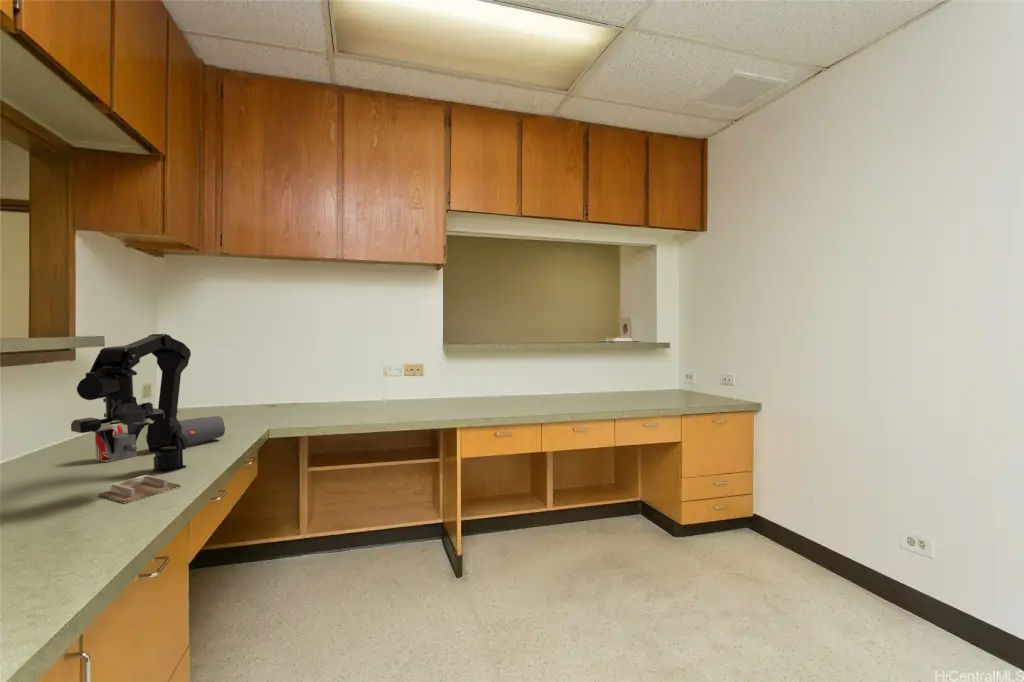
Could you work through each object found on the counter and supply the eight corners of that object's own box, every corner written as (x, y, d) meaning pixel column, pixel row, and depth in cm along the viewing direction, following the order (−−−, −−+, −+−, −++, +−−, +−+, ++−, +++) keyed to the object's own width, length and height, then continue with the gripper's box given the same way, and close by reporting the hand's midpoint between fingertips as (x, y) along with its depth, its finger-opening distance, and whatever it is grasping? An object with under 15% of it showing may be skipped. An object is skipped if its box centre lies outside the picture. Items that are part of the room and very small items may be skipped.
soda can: (95, 464, 151) (94, 428, 151) (96, 459, 157) (95, 424, 156) (123, 460, 156) (122, 425, 155) (123, 455, 161) (122, 421, 161)
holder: (153, 480, 135) (152, 471, 135) (180, 487, 129) (179, 477, 129) (98, 495, 123) (97, 486, 123) (125, 503, 118) (125, 493, 117)
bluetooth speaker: (156, 455, 162) (155, 426, 162) (146, 451, 168) (145, 423, 167) (226, 441, 181) (225, 416, 180) (215, 438, 186) (214, 413, 186)
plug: (125, 453, 128) (124, 432, 128) (142, 457, 124) (141, 435, 123) (107, 457, 124) (106, 435, 124) (124, 462, 120) (123, 439, 120)
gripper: (90, 401, 112) (92, 465, 113) (174, 391, 129) (176, 446, 129) (68, 398, 117) (71, 459, 118) (152, 388, 134) (154, 442, 134)
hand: (121, 451), depth 125 cm, fingers closed on plug, 4 cm apart
